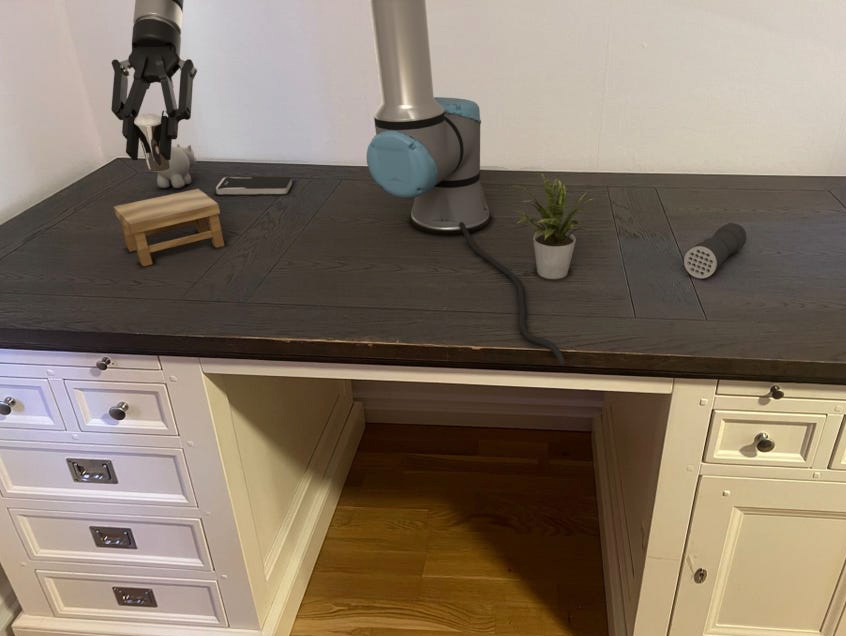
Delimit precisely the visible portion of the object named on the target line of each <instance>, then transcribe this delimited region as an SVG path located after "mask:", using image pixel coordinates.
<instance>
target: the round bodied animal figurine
mask: <svg viewBox="0 0 846 636" xmlns="http://www.w3.org/2000/svg"><path fill="white" fill-rule="evenodd" d="M196 164H197V158H196V156H195V152H194V150H193V148H192V145H191V144H189V145H188V146H187V147H184V146H183V147H181V145H180V144H179V143H177V144H176V146H174V145H171V160H169V167H170V168H169V169H168V170H165V171H160V172H157V177H156V178H157V179H156V184H157V186H158V188H160V189H166V188H169V187H170V186H172V187H173V189H181V188H183V187H185V185H189V184H191V183H192V177H191V175H190V173H189V170H190V167H194V166H195V165H196Z"/></svg>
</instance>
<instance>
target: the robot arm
mask: <svg viewBox="0 0 846 636" xmlns="http://www.w3.org/2000/svg"><path fill="white" fill-rule="evenodd" d="M184 2H185V1H184V0H135V2H134V9H133V10H134V12H133V20H132V21H133V22H132V23H133V26H132V35H131V52H130V54H129V55H128V58H127V59H125V60H122V61H119V60H118V59H112V61H111V66H112V69H113V72H114V73H113V84H112V97H111V110H110V111H111V112H112V113H113V114H114V116H115V117H116V118H117V120H119V121H122V126H121V127H122V129H121V134H122V136H123V137H124V138H125V140H126V144H125V153H126V154H127V156H129V158H130V159H131V160H132V161H138V159H139V149H140V148H139V147H140V138H139V135H138V132H137V129H136V126H135V123H134V121H135V119H136V117H137V116H139V115H140V114H139V113H140V111H141V107H142V105H143V102H144V98H145V96H146V93H147V90H149V89H150V86H151V85H152V84H154V83H160V86H161V91H162V96H163V101H164V105H165V110H164V113H166V115H163V118H162V121H161V136H160V151H159V152H160V153H161V155H162V156H163V157H164V158H165V159H166V160H171V146H173V145H172V143H173V140H177V139H178V133H179V122H181V121H183V120H185V121H188V120H191V117H192V103H193V89H194V88H193V87H194V80H195V77H196V75H197V73H198V69H197V67H196V65H195V64H194V62H193V60H192V59H189V58H188V59H186V60H183V59H181V57H180V56H181V44H182V36H181V35H182V28H183V27H182V25H183V13H184V12H183V11H184ZM368 4H369V5H368V6H369V11H370V13H369V14H370V20H371V28H372V36H373V43H374V52H375V59H376V68H377V75H378V84H379V92H380V101H381V102H380V104H379V106H378V107H377V108H376V110H374V112H373V120H374V128H375V135H374V136H373V138H372V139H371V141H370V142H369V144H368V147H367V149H366V164H367V168H368V170H369V173H370V175H371V177H372V179H373V180H374V181H375V183H376V184H377V185H378V186H380V187H381V188H382V189H383V190H384V191H385V192H386V193H388V194H390V195H391V196H394V197H396V198H400V199H414V202H413V206H412V208H411V213H410V214H411V215H410V216H411V223H412V225H413V226H414V227H415V228H417V229H418V230H420V231H422V232H426V233H429V234H434V235H441V236H442V235H443V236H454V235H456V236H457V235H463V236H464V238H465V240H466V242H467V245H468V246H469V247H470V248H471V249H472V251H473V252H474V253H475V254H477V255H478V256H479V257H480V258H481V259H483V260H485V261H486V262H488V263H489V264H490V265H492V266H493V267H494V268H495V269H496V270H498V271H499V272H501V273H502V274H504V275H505V276H506V277H508V279H510V280H511V281H512V283H513V284H514V286H515V289H516V291H517V292H516V293H517V300H518V308H519V309H518V311H519V312H518V328H519V331H520V334H521V335H522V336H523V338H525V339H526V340H527V341H528V342H529V343H532V344H535V345H539V346H541V347H544V348H545V349H546V348H547V349H548V350H550V351H551V352H552V353H553V354H554V356H555V358H556V360H557V362H558V364H560V365H565V364H566V359H565V357H564V355H563V353H562V351H561V350H560V348H559V347H558V346H557V345H556V344H555V343H553V342H552V341H550V340H547V339H545V338H542V337H538V336H535V335H533V334H531V333H530V332H529V330H528V329H527V326H526V313H527V310H526V302H525V292H524V287H523V285H522V282H521V281H520V280H519V278H518V277H517V276H516V275H515V274H514V273H513V272H512V271H511V270H509V269H508V268H507V267H505V266H504V265H502V264H501V263H500V262H499V261H497V260H496V259H495V258H493V257H492V256H491V255H489V254H488V253H486V252H484V251H483V250H482V249H480V248H479V247H478V246H477V245H476V244H475V242H474V240H473V239H472V236H471V234H470V233H473V232H476V231H479V230H481V229H484V228H485V227H486V226H487V225H488V224H489V222H490V209H489V205H488V203H487V200H486V197H485V193H484V190H483V187H482V183H481V125H482V119H481V111H480V106H479V105H478V104H477V102H475V101H473V100H471V99H465V98H459V97H446V96H445V97H444V96H443V97H441V96H438V97H437V96H434V85H433V84H434V83H433V73H432V60H431V49H430V38H429V27H428V16H427V14H428V13H427V4H426V0H368ZM131 69H133V71H134V72H133V74H132V75H133V76H132V77H133V81H132V84H131V87H130V89H129V91H128V88H129V87H128V86H129V78H128V77H129V76H130V70H131ZM178 71H180V74H179V75H180V77H179V89H178V103H177V100H176V96H175V90H174V83H173V76H175V74H176V73H177V72H178Z"/></svg>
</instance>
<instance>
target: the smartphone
mask: <svg viewBox="0 0 846 636" xmlns="http://www.w3.org/2000/svg"><path fill="white" fill-rule="evenodd" d="M292 185H293V178H292V176H226V177H223V178H222V179H221V180H220V181H219V183H218V184H217V185H216V186H215V191H216V195H286V194H288V193H289V191H290V188H291V187H292Z"/></svg>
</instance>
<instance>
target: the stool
mask: <svg viewBox="0 0 846 636" xmlns="http://www.w3.org/2000/svg"><path fill="white" fill-rule="evenodd" d="M113 209H114V213H115V217H116V218H117V219H118V220H119V223H120V226H121V230H122V235H123V237H124V240H125V244H126V247H127V250H128V251H129V252H134V251H136V252H137V255H138V259H139V263H140V264H141V265H142V267H146V266H151V265H153V264H154V263H153V259H152V256H151V253H154V252H157V251H158V252H159V251H163V250H166V249H170V248H174V247H178V246H182V245H186V244H190V243H195V242H198V241H202V240H207V239H211V242H212V245H213V247H214V248H216V249H218V248H222V247H225V242H224V237H223V232H222V226H221V222H220V217H219V215H220V214H221V210H220V206H219V203H218V202H216V201H215V200H214V199H212V197H210V196H208V195H207V194H206V193H205V192H204V191H202V190H201V189H200V188H196V189H191V190H185V191H181V192H176V193H171V194H167V195H161V196H158V197H157V196H156V197H153V198H147V199H143V200H138V201H134V202H129V203H124V204H123V203H122V204H119V205H114V206H113ZM194 225H195V226H196V230H197V233H195V234H190V235H186V236H183V237H179V238H174V239H171V240H166V241H161V242H158V243H153V244H150V245H148V242H147V238H146V237H147V236H152V235H157V234H160V233H164V232H169V231H173V230H178V229H182V228H186V227H189V226H194Z"/></svg>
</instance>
